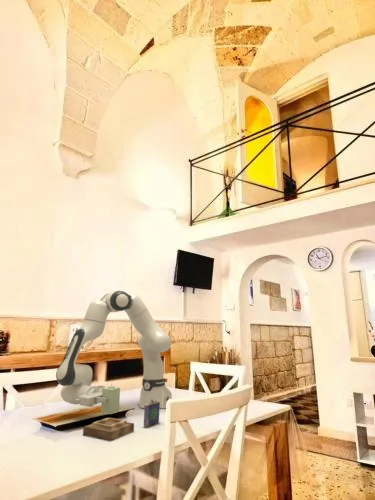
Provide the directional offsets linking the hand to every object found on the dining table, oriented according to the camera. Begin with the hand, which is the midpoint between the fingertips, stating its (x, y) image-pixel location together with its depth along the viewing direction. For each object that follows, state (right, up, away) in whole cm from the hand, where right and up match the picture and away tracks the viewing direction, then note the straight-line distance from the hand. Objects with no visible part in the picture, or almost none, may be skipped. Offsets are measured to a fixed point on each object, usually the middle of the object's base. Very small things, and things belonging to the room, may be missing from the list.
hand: (112, 398), depth 147 cm
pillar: (-1, -6, -1) cm, 6 cm away
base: (+2, -6, -16) cm, 18 cm away
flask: (+18, -10, -5) cm, 21 cm away
